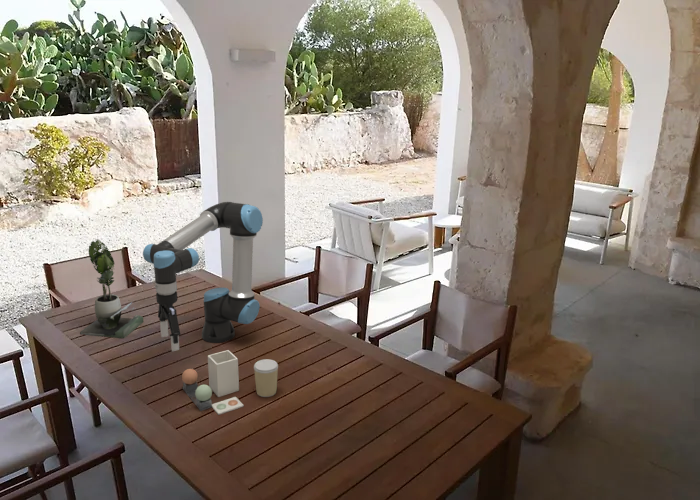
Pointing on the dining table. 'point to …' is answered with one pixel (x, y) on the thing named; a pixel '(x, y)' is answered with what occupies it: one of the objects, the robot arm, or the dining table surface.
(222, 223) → the robot arm
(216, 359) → the open square box
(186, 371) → the ball terracotta
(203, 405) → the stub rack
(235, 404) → the card
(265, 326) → the dining table surface
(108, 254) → the potted plant
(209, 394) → the ball sage
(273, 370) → the coffee cup
